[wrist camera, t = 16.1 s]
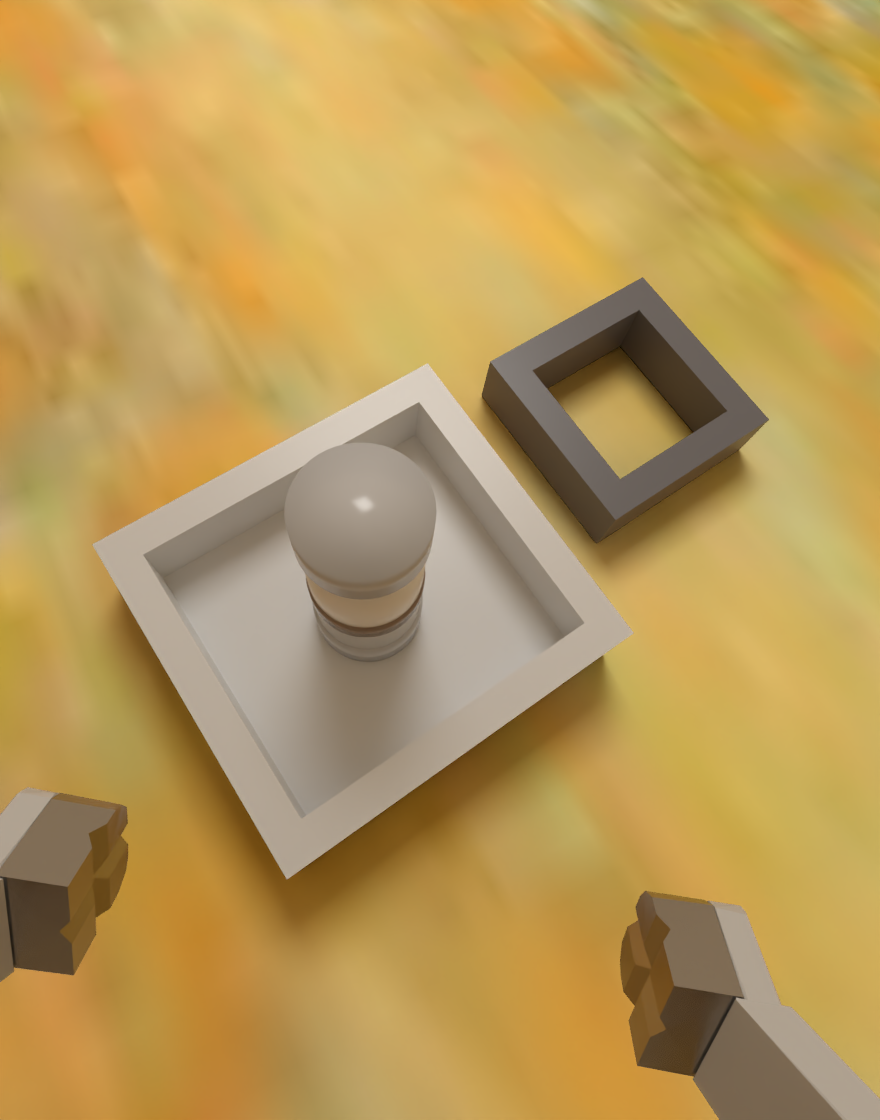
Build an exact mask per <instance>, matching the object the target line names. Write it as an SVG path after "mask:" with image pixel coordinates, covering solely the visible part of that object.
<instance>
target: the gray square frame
mask: <svg viewBox="0 0 880 1120" xmlns="http://www.w3.org/2000/svg"><path fill="white" fill-rule="evenodd" d="M620 346H621V348H622V349H623V350H624V351H625V352H626V353H627V355H628V356H629V357H630V358H631V359H632V360H633V362H634V363H635V364H636V365H637V366H638V368H639V369H640V370H641V371H642V372H643V373H644V375H645V376H646V377H647V378H648V379H649V380H650V382H651V383H652V384H653V385H654V386H655V387H656V389H657V390H658V391H659V392H660V393H661V395H662V396H663V397H664V398H665V399H666V400H667V402H668V403H669V404H670V405H671V406H672V407H673V409H674V410H675V411H676V412H677V413H678V414H679V416H680V417H681V418H682V419H683V420H684V422H685V423H686V424H687V425H688V426H689V427H690V429H691V430H692V431H693V432H694V433H692V434H691V435H689V436H687V437H686V438H684V439H683V440H681V441H680V442H678V443H676V444H675V445H673V446H672V447H670V448H669V449H667V450H665V451H664V452H662V453H661V454H659V455H658V456H656V457H655V458H653V459H651V460H650V461H648V462H647V463H645V464H644V465H642V466H640V467H639V468H637V469H636V470H634V471H633V472H631V473H629V474H628V475H626V476H625V477H623V478H622V479H619V477H618V476H617V475H616V474H615V472H614V471H613V470H612V469H611V467H610V466H609V465H608V464H607V462H606V461H605V460H604V459H603V458H602V456H601V455H600V454H599V453H598V451H597V450H596V449H595V448H594V446H593V445H592V444H591V443H590V441H589V440H588V439H587V438H586V436H585V435H584V434H583V433H582V431H581V430H580V429H579V428H578V427H577V425H576V424H575V423H574V422H573V420H572V419H571V418H570V417H569V415H568V414H567V413H566V412H565V410H564V409H563V408H562V407H561V405H560V404H559V403H558V402H557V400H556V399H555V398H554V397H553V396H552V394H551V393H550V392H549V391H548V389H547V388H549V387H550V386H552V385H554V384H556V383H557V382H559V381H561V380H563V379H564V378H566V377H568V376H569V375H571V374H573V373H575V372H576V371H578V370H580V369H582V368H583V367H585V366H587V365H588V364H590V363H592V362H594V361H595V360H597V359H599V358H601V357H602V356H604V355H606V354H608V353H609V352H611V351H613V350H614V349H616V348H618V347H620ZM482 397H483V398H484V399H485V401H486V402H487V403H488V405H489V406H490V407H491V408H492V410H493V411H494V412H495V414H496V415H497V416H498V417H499V419H500V420H501V421H502V423H503V424H504V425H505V426H506V428H507V429H508V430H509V432H510V433H511V434H512V435H513V437H514V438H515V439H516V441H517V442H518V443H519V444H520V446H521V447H522V448H523V450H524V451H525V452H526V453H527V455H528V456H529V457H530V459H531V460H532V461H533V462H534V464H535V465H536V466H537V468H538V469H539V470H540V471H541V473H542V474H543V475H544V477H545V478H546V479H547V481H548V482H549V483H550V484H551V486H552V487H553V488H554V490H555V491H556V492H557V493H558V495H559V496H560V497H561V499H562V500H563V501H564V502H565V504H566V505H567V506H568V508H569V509H570V510H571V511H572V513H573V514H574V515H575V517H576V518H577V519H578V520H579V522H580V523H581V524H582V526H583V527H584V528H585V529H586V531H587V532H588V533H589V535H590V536H591V537H592V538H593V540H594V541H595V542H596V544H597V543H598V542H600V541H601V540H603V539H604V538H606V537H607V536H609V535H610V534H612V533H613V532H615V531H616V530H618V529H620V528H621V527H623V526H624V525H626V524H627V523H629V522H630V521H632V520H633V519H635V518H636V517H638V516H639V515H641V514H642V513H644V512H645V511H647V510H648V509H650V508H651V507H653V506H654V505H656V504H657V503H659V502H660V501H662V500H663V499H665V498H667V497H668V496H670V495H671V494H673V493H674V492H676V491H677V490H679V489H680V488H682V487H683V486H685V485H686V484H688V483H689V482H691V481H692V480H694V479H695V478H697V477H698V476H700V475H701V474H703V473H704V472H706V471H707V470H709V469H710V468H712V467H713V466H715V465H717V464H718V463H720V462H721V461H723V460H724V459H726V458H727V457H729V456H730V455H732V454H733V453H735V452H736V451H738V450H739V449H740V448H741V447H742V446H743V445H744V444H745V443H746V442H747V441H748V440H749V439H750V438H751V437H752V436H753V435H754V434H755V433H756V432H757V431H758V430H759V429H760V428H761V427H762V426H763V425H764V424H765V423H766V422H767V421H768V420H769V419H768V418H767V417H766V416H765V415H764V413H763V412H762V411H761V410H760V409H759V408H758V407H757V406H756V404H755V403H754V402H753V401H752V400H751V399H750V398H749V397H748V395H747V394H746V393H745V392H744V391H743V390H742V389H741V388H740V386H739V385H738V384H737V383H736V382H735V381H734V380H733V379H732V377H731V376H730V375H729V374H728V373H727V372H726V371H725V370H724V368H723V367H722V366H721V365H720V364H719V363H718V362H717V360H716V359H715V358H714V357H713V356H712V355H711V354H710V353H709V351H708V350H707V349H706V348H705V347H704V346H703V345H702V344H701V342H700V341H699V340H698V339H697V338H696V337H695V336H694V335H693V333H692V332H691V331H690V330H689V329H688V328H687V327H686V326H685V324H684V323H683V322H682V321H681V320H680V319H679V318H678V317H677V315H676V314H675V313H674V312H673V311H672V310H671V309H670V307H669V306H668V305H667V304H666V303H665V302H664V301H663V300H662V298H661V297H660V296H659V295H658V294H657V293H656V292H655V291H654V289H653V288H652V287H651V286H650V285H649V284H648V283H647V282H646V280H645V279H644V278H643V277H642V278H641V279H639V280H637V281H635V282H633V283H632V284H630V285H628V286H626V287H624V288H623V289H621V290H619V291H617V292H615V293H614V294H612V295H610V296H608V297H606V298H605V299H603V300H601V301H599V302H597V303H595V304H594V305H592V306H590V307H588V308H586V309H585V310H583V311H581V312H579V313H577V314H576V315H574V316H572V317H570V318H568V319H567V320H565V321H563V322H561V323H559V324H558V325H556V326H554V327H552V328H550V329H548V330H547V331H545V332H543V333H541V334H539V335H538V336H536V337H534V338H532V339H530V340H529V341H527V342H525V343H523V344H521V345H520V346H518V347H516V348H514V349H512V350H511V351H509V352H507V353H505V354H503V355H502V356H500V357H498V358H496V359H494V360H492V361H491V362H490V365H489V369H488V373H487V377H486V381H485V384H484V388H483V392H482Z"/></svg>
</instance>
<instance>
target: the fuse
mask: <svg viewBox="0 0 880 1120" xmlns="http://www.w3.org/2000/svg"><path fill="white" fill-rule="evenodd" d="M436 513H437V510H436V500H435V496H434V492H433V489H432V487H431V484H430V483H429V481H428V479H427V477H426V476H425V474H424V473H423V471H422V470H421V469H420V468H419V467H418V466H417V465H416V464H415V463H414V462H413V461H412V460H411V459H409V458H408V457H407V456H405V455H403V454H402V453H400V452H398V451H396V450H394V449H392V448H389V447H386V446H383V445H378V444H374V443H349V444H343V445H339V446H335V447H333V448H330V449H328V450H325V451H324V452H322V453H320V454H318V455H317V456H315V457H314V458H312V459H311V460H310V461H309V462H307V463H306V464H305V465H304V466H303V467H302V468H301V470H300V471H299V472H298V473H297V475H296V476H295V478H294V479H293V481H292V483H291V485H290V487H289V489H288V493H287V496H286V500H285V507H284V518H285V525H286V529H287V532H288V535H289V539H290V542H291V545H292V548H293V551H294V554H295V557H296V559H297V561H298V563H299V565H300V566H301V568H302V570H303V571H304V573H305V576H306V583H307V587H308V591H309V594H310V597H311V600H312V603H313V610H314V614H315V617H316V620H317V623H318V626H319V629H320V632H321V634H322V636H323V637H324V639H325V641H326V642H327V643H328V644H329V645H330V646H331V647H332V648H333V649H334V650H335V651H337V652H338V653H339V654H341V655H343V656H345V657H347V658H350V659H353V660H357V661H364V662H373V661H379V660H383V659H386V658H389V657H391V656H393V655H395V654H397V653H398V652H400V651H401V650H402V649H403V648H405V647H406V646H407V645H408V644H409V642H410V641H411V640H412V638H413V637H414V635H415V633H416V631H417V629H418V626H419V623H420V618H421V612H422V605H423V589H424V583H425V565H426V561H427V559H428V557H429V554H430V551H431V547H432V542H433V536H434V530H435V523H436Z"/></svg>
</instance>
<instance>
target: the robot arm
mask: <svg viewBox="0 0 880 1120" xmlns="http://www.w3.org/2000/svg"><path fill="white" fill-rule="evenodd" d="M127 824H128V819H127V807H125V806H123V805H120V804H115V803H110V802H105V801H100V800H95V799H89V798H84V797H79V796H74V795H69V794H63V793H56V792H50V791H45V790H40V789H34V788H29V787H27V788H25V789H24V790H22V791H21V792H19V793H18V794H16V796H15V797H14V798H13V799H12V801H11V802H10V803H9V804H8V805H7V807H6V808H5V809H4V810H3V812H2V813H1V814H0V982H1V981H2V980H3V979H5V978H6V977H7V976H9V975H10V974H11V973H13V972H14V968H22V969H29V970H37V971H45V972H52V973H60V974H68V975H74V974H75V972H76V970H77V969H78V967H79V965H80V963H81V961H82V959H83V958H84V956H85V954H86V952H87V950H88V948H89V947H90V945H91V943H92V941H93V939H94V937H95V936H96V917H97V916H99V915H101V914H102V913H104V912H105V911H107V910H108V909H110V908H111V906H112V904H113V902H114V900H115V898H116V896H117V894H118V892H119V890H120V887H121V884H122V881H123V878H124V875H125V872H126V867H127V861H128V844H127V843H126V841H125V840H124V839H123V838H122V836H121V834H122V832H123V831H124V829H125V827H126V825H127ZM636 912H637V917H638V921H636V922H635V923H633V924H631V925H630V926H628V927H627V930H626V933H625V935H624V938H623V941H622V948H621V956H620V970H621V980H622V986H623V992H624V993H625V994H626V995H627V997H628V998H629V999H630V1001H631V1002H632V1003H633V1004H634V1006H635V1007H634V1009H633V1011H632V1014H631V1016H630V1019H629V1025H630V1030H631V1036H632V1041H633V1046H634V1052H635V1057H636V1062H637V1066H641V1067H647V1068H652V1069H657V1070H662V1071H668V1072H673V1073H678V1074H683V1075H689V1076H694V1078H693V1080H694V1082H695V1083H696V1085H697V1086H698V1088H699V1090H700V1091H701V1093H702V1094H703V1096H704V1097H705V1099H706V1100H707V1102H708V1103H709V1105H710V1106H711V1108H712V1109H713V1111H714V1112H715V1114H716V1115H717V1117H718V1118H719V1120H880V1099H879V1098H878V1097H877V1095H876V1094H875V1093H874V1092H873V1091H872V1090H871V1089H870V1088H869V1087H868V1086H867V1085H866V1084H865V1083H864V1082H863V1081H862V1080H861V1079H860V1078H859V1077H858V1076H857V1075H856V1074H855V1073H854V1072H853V1071H852V1070H851V1069H850V1067H849V1066H848V1065H847V1064H846V1063H845V1062H844V1061H843V1060H842V1059H841V1058H840V1057H839V1056H838V1055H837V1054H836V1053H835V1052H834V1051H833V1050H832V1049H831V1048H830V1047H829V1046H828V1045H827V1044H826V1043H825V1042H824V1041H823V1039H822V1038H821V1037H820V1036H819V1035H818V1034H817V1033H816V1032H815V1031H814V1030H813V1029H812V1028H811V1027H810V1026H809V1025H808V1024H807V1023H806V1022H805V1021H804V1020H803V1019H802V1018H801V1017H800V1016H799V1015H798V1014H797V1013H796V1011H795V1010H794V1009H793V1008H792V1007H788V1006H783V1005H781V1002H780V1000H779V997H778V995H777V992H776V989H775V987H774V984H773V982H772V979H771V976H770V974H769V971H768V969H767V966H766V963H765V961H764V958H763V956H762V953H761V950H760V948H759V945H758V943H757V940H756V937H755V935H754V932H753V930H752V927H751V924H750V922H749V919H748V917H747V914H746V912H745V911H744V910H743V908H742V907H741V906H738V905H732V904H725V903H719V902H713V901H705V900H702V899H695V898H689V897H682V896H676V895H669V894H663V893H656V892H650V891H645V892H644V893H643V894H642V895H641V896H640V898H639V900H638V902H637V905H636Z"/></svg>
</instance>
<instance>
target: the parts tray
mask: <svg viewBox="0 0 880 1120" xmlns="http://www.w3.org/2000/svg"><path fill="white" fill-rule="evenodd" d="M349 443H374V444H378V445H383V446H386V447H389V448H392V449H394V450H396V451H398V452H400V453H402V454H403V455H405V456H407V457H408V458H409V459H411V460H412V461H413V462H414V463H415V464H416V465H417V466H418V467H419V468H420V469H421V470H422V471H423V473H424V474H425V476H426V477H427V479H428V481H429V483H430V484H431V487H432V489H433V492H434V496H435V500H436V510H437V513H436V523H435V530H434V536H433V542H432V547H431V551H430V554H429V557H428V559H427V561H426V565H425V583H424V589H423V605H422V612H421V618H420V623H419V626H418V629H417V631H416V633H415V635H414V637H413V638H412V640H411V641H410V642H409V644H408V645H407V646H406V647H405V648H403V649H402V650H401V651H400V652H398V653H397V654H395V655H393V656H391V657H389V658H386V659H383V660H379V661H373V662H364V661H357V660H353V659H350V658H347V657H345V656H343V655H341V654H339V653H338V652H337V651H335V650H334V649H333V648H332V647H331V646H330V645H329V644H328V643H327V642H326V641H325V639H324V637H323V636H322V634H321V632H320V629H319V626H318V623H317V620H316V617H315V614H314V610H313V603H312V600H311V597H310V594H309V591H308V587H307V583H306V576H305V573H304V571H303V570H302V568H301V566H300V565H299V563H298V561H297V559H296V557H295V554H294V551H293V548H292V545H291V542H290V539H289V535H288V532H287V529H286V525H285V518H284V507H285V500H286V496H287V493H288V489H289V487H290V485H291V483H292V481H293V479H294V478H295V476H296V475H297V473H298V472H299V471H300V470H301V468H302V467H303V466H304V465H305V464H306V463H307V462H309V461H310V460H311V459H312V458H314V457H315V456H317V455H318V454H320V453H322V452H324V451H325V450H328V449H330V448H333V447H335V446H339V445H343V444H349ZM92 545H93V546H94V548H95V550H96V552H97V553H98V555H99V557H100V559H101V560H102V562H103V564H104V565H105V567H106V569H107V571H108V572H109V574H110V576H111V577H112V579H113V581H114V583H115V584H116V586H117V588H118V590H119V591H120V593H121V595H122V596H123V598H124V600H125V602H126V603H127V605H128V607H129V608H130V610H131V612H132V614H133V615H134V617H135V619H136V621H137V622H138V624H139V626H140V627H141V629H142V631H143V633H144V634H145V636H146V638H147V639H148V641H149V643H150V645H151V646H152V648H153V650H154V652H155V653H156V655H157V657H158V658H159V660H160V662H161V664H162V665H163V667H164V669H165V670H166V672H167V674H168V676H169V677H170V679H171V681H172V683H173V684H174V686H175V688H176V689H177V691H178V693H179V695H180V696H181V698H182V700H183V702H184V703H185V705H186V707H187V708H188V710H189V712H190V714H191V715H192V717H193V719H194V720H195V722H196V724H197V726H198V727H199V729H200V731H201V733H202V734H203V736H204V738H205V739H206V741H207V743H208V745H209V746H210V748H211V750H212V751H213V753H214V755H215V757H216V758H217V760H218V762H219V764H220V765H221V767H222V769H223V770H224V772H225V774H226V776H227V777H228V779H229V781H230V782H231V784H232V786H233V788H234V789H235V791H236V793H237V795H238V796H239V798H240V800H241V801H242V803H243V805H244V807H245V808H246V810H247V812H248V813H249V815H250V817H251V819H252V820H253V822H254V824H255V826H256V827H257V829H258V831H259V832H260V834H261V836H262V838H263V839H264V841H265V843H266V844H267V846H268V848H269V850H270V851H271V853H272V855H273V857H274V858H275V860H276V862H277V863H278V865H279V867H280V869H281V870H282V872H283V874H284V875H285V877H286V879H289V878H290V877H291V876H293V875H294V874H296V873H297V872H299V871H300V870H301V869H303V868H304V867H306V866H307V865H308V864H310V863H311V862H313V861H314V860H315V859H317V858H318V857H320V856H321V855H322V854H324V853H325V852H327V851H328V850H329V849H331V848H332V847H334V846H335V845H337V844H338V843H339V842H341V841H342V840H344V839H345V838H346V837H348V836H349V835H351V834H352V833H353V832H355V831H356V830H358V829H359V828H360V827H362V826H363V825H365V824H366V823H367V822H369V821H370V820H372V819H373V818H374V817H376V816H377V815H379V814H380V813H382V812H383V811H384V810H386V809H387V808H389V807H390V806H391V805H393V804H394V803H396V802H397V801H398V800H400V799H401V798H403V797H404V796H405V795H407V794H408V793H410V792H411V791H412V790H414V789H415V788H417V787H418V786H419V785H421V784H422V783H424V782H425V781H427V780H428V779H429V778H431V777H432V776H434V775H435V774H436V773H438V772H439V771H441V770H442V769H443V768H445V767H446V766H448V765H449V764H450V763H452V762H453V761H455V760H456V759H457V758H459V757H460V756H462V755H463V754H465V753H466V752H467V751H469V750H470V749H472V748H473V747H474V746H476V745H477V744H479V743H480V742H481V741H483V740H484V739H486V738H487V737H488V736H490V735H491V734H493V733H494V732H495V731H497V730H498V729H500V728H501V727H502V726H504V725H505V724H507V723H508V722H510V721H511V720H512V719H514V718H515V717H517V716H518V715H519V714H521V713H522V712H524V711H525V710H526V709H528V708H529V707H531V706H532V705H533V704H535V703H536V702H538V701H539V700H540V699H542V698H543V697H545V696H546V695H547V694H549V693H550V692H552V691H553V690H555V689H556V688H557V687H559V686H560V685H562V684H563V683H564V682H566V681H567V680H569V679H570V678H571V677H573V676H574V675H576V674H577V673H578V672H580V671H581V670H583V669H584V668H585V667H587V666H588V665H590V664H591V663H592V662H594V661H595V660H597V659H598V658H600V657H601V656H602V655H604V654H605V653H607V652H608V651H609V650H611V649H612V648H614V647H615V646H616V645H618V644H619V643H621V642H622V641H623V640H625V639H626V638H627V637H629V636H630V635H632V634H633V631H632V630H631V629H630V627H629V626H628V625H627V623H626V622H625V621H624V619H623V618H622V617H621V616H620V614H619V613H618V612H617V610H616V609H615V608H614V606H613V605H612V604H611V602H610V601H609V600H608V599H607V597H606V596H605V595H604V593H603V592H602V591H601V589H600V588H599V587H598V585H597V584H596V583H595V582H594V580H593V579H592V578H591V576H590V575H589V574H588V572H587V571H586V570H585V568H584V567H583V566H582V565H581V563H580V562H579V561H578V559H577V558H576V557H575V555H574V554H573V553H572V551H571V550H570V549H569V548H568V546H567V545H566V544H565V542H564V541H563V540H562V538H561V537H560V536H559V535H558V533H557V532H556V531H555V529H554V528H553V527H552V525H551V524H550V523H549V521H548V520H547V519H546V518H545V516H544V515H543V514H542V512H541V511H540V510H539V508H538V507H537V506H536V504H535V503H534V502H533V501H532V499H531V498H530V497H529V495H528V494H527V493H526V491H525V490H524V489H523V487H522V486H521V485H520V484H519V482H518V481H517V480H516V478H515V477H514V476H513V474H512V473H511V472H510V470H509V469H508V468H507V467H506V465H505V464H504V463H503V461H502V460H501V459H500V457H499V456H498V455H497V453H496V452H495V451H494V450H493V448H492V447H491V446H490V444H489V443H488V442H487V440H486V439H485V438H484V436H483V435H482V434H481V433H480V431H479V430H478V429H477V427H476V426H475V425H474V423H473V422H472V421H471V419H470V418H469V417H468V416H467V414H466V413H465V412H464V410H463V409H462V408H461V406H460V405H459V404H458V402H457V401H456V400H455V399H454V397H453V396H452V395H451V393H450V392H449V391H448V389H447V388H446V387H445V385H444V384H443V383H442V382H441V380H440V379H439V378H438V376H437V375H436V374H435V372H434V371H433V370H432V368H431V367H430V366H429V365H428V363H427V364H426V365H424V366H422V367H420V368H418V369H416V370H415V371H413V372H411V373H409V374H407V375H405V376H403V377H402V378H400V379H398V380H396V381H394V382H392V383H390V384H389V385H387V386H385V387H383V388H381V389H379V390H377V391H376V392H374V393H372V394H370V395H368V396H366V397H365V398H363V399H361V400H359V401H357V402H355V403H353V404H352V405H350V406H348V407H346V408H344V409H342V410H340V411H339V412H337V413H335V414H333V415H331V416H329V417H327V418H326V419H324V420H322V421H320V422H318V423H316V424H314V425H313V426H311V427H309V428H307V429H305V430H303V431H302V432H300V433H298V434H296V435H294V436H292V437H290V438H289V439H287V440H285V441H283V442H281V443H279V444H277V445H276V446H274V447H272V448H270V449H268V450H266V451H264V452H263V453H261V454H259V455H257V456H255V457H253V458H252V459H250V460H248V461H246V462H244V463H242V464H240V465H239V466H237V467H235V468H233V469H231V470H229V471H227V472H226V473H224V474H222V475H220V476H218V477H216V478H214V479H213V480H211V481H209V482H207V483H205V484H203V485H201V486H200V487H198V488H196V489H194V490H192V491H190V492H189V493H187V494H185V495H183V496H181V497H179V498H177V499H176V500H174V501H172V502H170V503H168V504H166V505H164V506H163V507H161V508H159V509H157V510H155V511H153V512H151V513H150V514H148V515H146V516H144V517H142V518H140V519H139V520H137V521H135V522H133V523H131V524H129V525H127V526H126V527H124V528H122V529H120V530H118V531H116V532H114V533H113V534H111V535H109V536H107V537H105V538H103V539H101V540H100V541H98V542H96V543H94V544H92Z"/></svg>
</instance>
